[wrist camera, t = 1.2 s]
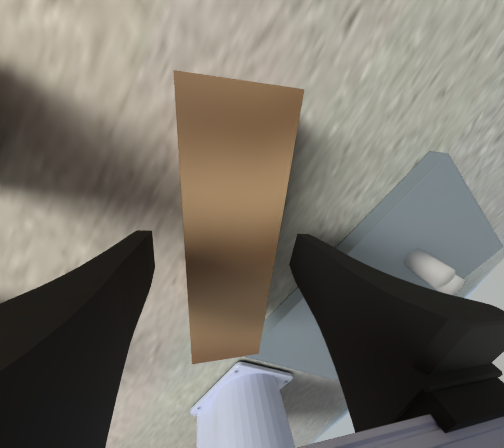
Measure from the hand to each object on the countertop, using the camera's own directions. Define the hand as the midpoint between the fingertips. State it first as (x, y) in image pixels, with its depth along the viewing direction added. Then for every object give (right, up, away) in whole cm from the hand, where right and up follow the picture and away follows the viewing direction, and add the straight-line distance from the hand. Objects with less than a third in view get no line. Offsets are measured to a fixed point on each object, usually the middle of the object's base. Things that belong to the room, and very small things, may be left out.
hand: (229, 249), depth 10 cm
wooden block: (-1, +2, +3) cm, 4 cm away
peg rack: (+12, -5, +10) cm, 16 cm away
